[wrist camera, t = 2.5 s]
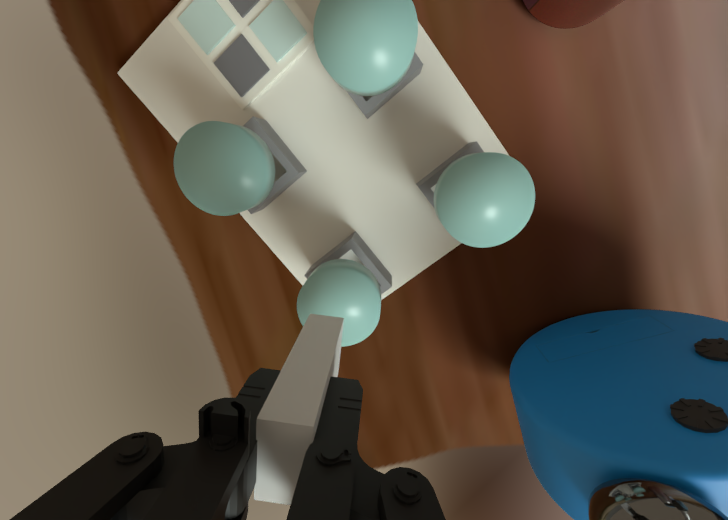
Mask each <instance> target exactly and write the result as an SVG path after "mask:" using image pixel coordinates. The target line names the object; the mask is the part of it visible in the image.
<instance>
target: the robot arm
mask: <svg viewBox="0 0 728 520" xmlns="http://www.w3.org/2000/svg"><path fill="white" fill-rule="evenodd" d="M343 323H344V318H341V317H333V316H325V315H317V314H310V315H309V317H308V318H307V320H306V322H305V324H304V326H303V328H302V330H301V332H300V334H299V336H298V338H297V340H296V342H295V344H294V346H293V348H292V350H291V352H290V354H289V356H288V358H287V360H286V362H285V364H284V366H283V368H282V370H281V371H280V370H272V369H265V368H260V369H259V370H257V371H256V372H254V373H253V374H252V375H250V376H249V378H248V379H247V381H246V383H245V384H244V387H242V389H241V390H240V392H239V394H238V395H237V397H236V398H222V399H218V400H214V401H212V402H210V403H208V404H206V405H204V406H203V407H202V408H201V409H200V410H199V438H198V439H197V441H194V442H192V443H186V444H179V445H171V446H163V442H162V439H161V437H159V436H158V435H156V434H155V433H149V432H140V433H133V434H130V435H127V436H124V437H122V438H120V439H119V440H117V441H115V442H114V443H112V444H110V445H109V446H108V447H106V448H105V449H104V450H102V451H101V452H100V453H98V454H97V455H96V456H95V457H93V458H92V459H91V460H89V461H88V462H86V463H85V464H84V465H82V466H81V467H80V468H78V469H77V470H76V471H74V472H73V473H72V474H70V475H69V476H68V477H66V478H65V479H64V480H62V481H61V482H60V483H58V484H57V485H56V486H54V487H53V488H51V489H50V490H49V491H48V492H46V493H45V494H43V495H42V496H41V497H40V498H38V499H37V500H35V501H34V502H33V503H31V504H30V505H29V506H27V507H26V508H25V509H23V510H22V511H21V512H19V513H18V514H17V515H15V516H14V517H13V518H12V519H10V520H246V518H247V513H248V501H249V498H250V496H251V493H252V491H253V489H254V500H260V501H267V502H273V503H280V504H287V505H291V506H290V509H289V513H288V516H287V520H446V519H445V517H444V515H443V512H442V509H441V507H440V504H439V502H438V499H437V497H436V494H435V492H434V489H433V487H432V486H431V484H430V482H429V481H428V479H427V478H426V477H424V476H423V475H422V474H421V473H420V472H417V471H415V470H413V469H410V468H403V467H399V468H395V469H391V470H390V471H388V472H387V473H386V474H383V473H381V472H378V471H376V470H374V469H373V468H371V467H369V466H368V465H367V464H366V463H365V462H364V461H363V460H362V459H361V457H360V456H359V453H358V450H357V440H358V431H359V422H360V413H361V404H362V394H363V389H362V387H361V385H360V383H359V381H358V380H353V379H346V378H339V377H337V376H338V371H339V361H340V352H341V342H342V332H343Z"/></svg>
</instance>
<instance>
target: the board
mask: <svg viewBox="0 0 728 520" xmlns="http://www.w3.org/2000/svg"><path fill="white" fill-rule="evenodd" d="M320 1H321V0H181V1H180V2H179V3H178V4H177V5H176V6H175V8H174V9H173V10H172V11H171V12H170V13H169V14H168V16H167V17H166V18H165V19H164V20H163V21H162V22H161V24H160V25H159V26H158V27H157V28H156V29H155V30H154V32H153V33H152V34H151V35H150V36H149V37H148V38H147V40H146V41H145V42H144V43H143V44H142V45H141V46H140V48H139V49H138V50H137V51H136V52H135V53H134V54H133V56H132V57H131V58H130V59H129V60H128V61H127V62H126V64H125V65H124V66H123V67H122V68H121V69H120V70H119V71H118V73H117V74H118V75H119V76H120V77H121V78H122V79H123V80H124V82H125V83H126V84H127V85H128V86H129V87H130V88H131V90H132V91H133V92H134V93H135V94H136V95H137V97H138V98H139V99H140V100H141V101H142V102H143V103H144V105H145V106H146V107H147V108H148V109H149V110H150V111H151V113H152V114H153V115H154V116H155V117H156V118H157V119H158V121H159V122H160V123H161V124H162V125H163V126H164V127H165V129H166V130H167V131H168V132H169V133H170V134H171V135H172V137H173V138H174V139H175V140H176V141H177V142H179V140H180V139H181V137H182V136H183V135H184V133H185V132H186V131H187V130H189V129H190V128H191V127H193V126H194V125H197V124H199V123H202V122H206V121H220V122H226V123H231V124H236V125H240V126H243V127H246V128H248V129H250V130H252V131H253V132H255V133H256V134H257V135H259V136H260V137H261V138H262V139H263V140H264V142H265V143H266V144H267V146H268V147H269V149H270V151H271V154H272V156H273V159H274V163H275V180H274V184H273V187H272V190H271V191H270V193H269V195H268V196H267V198H266V199H265V200H264V201H263V202H261V203H260V204H259V205H257V206H255V207H253V208H251V209H248V210H245V211H243V212H240V214H241V216H242V217H243V218H244V219H245V220H246V221H247V222H248V224H249V225H250V226H251V227H252V228H253V229H254V230H255V232H256V233H257V234H258V235H259V236H260V237H261V238H262V240H263V241H264V242H265V243H266V244H267V245H268V246H269V248H270V249H271V250H272V251H273V252H274V253H275V254H276V256H277V257H278V258H279V259H280V260H281V261H282V262H283V264H284V265H285V266H286V267H287V268H288V269H289V270H290V272H291V273H292V274H293V275H294V276H295V277H296V278H297V280H298V281H299V282H300V283H301V284H302V285H304V283H305V282H306V280H307V279H308V277H309V276H310V275H311V273H312V272H313V271H314V270H315V269H316V268H317V267H318V266H320V265H321V264H323V263H325V262H327V261H330V260H335V259H348V260H353V261H356V262H358V263H360V264H362V265H364V266H365V267H366V268H368V269H369V270H370V271H371V272H372V273H373V274H374V276H375V277H376V279H377V281H378V283H379V286H380V289H381V300H382V299H383V298H385V297H386V296H388V295H389V294H391V293H392V292H393V291H395V290H396V289H398V288H399V287H400V286H402V285H403V284H405V283H406V282H407V281H409V280H410V279H412V278H413V277H415V276H416V275H417V274H419V273H420V272H422V271H423V270H424V269H426V268H427V267H429V266H430V265H432V264H433V263H434V262H436V261H437V260H439V259H440V258H441V257H443V256H444V255H446V254H447V253H448V252H450V251H451V250H453V249H454V248H456V247H457V246H458V245H460V244H461V242H459V241H458V240H456V239H455V238H454V237H452V236H451V235H450V234H449V233H448V231H447V230H446V229H445V228H444V226H443V225H442V224H441V222H440V220H439V219H438V217H437V215H436V212H435V208H434V191H435V187H436V184H437V181H438V179H439V177H440V176H441V174H442V173H443V171H444V170H445V169H446V168H447V167H448V166H449V165H450V164H451V163H452V162H454V161H455V160H457V159H459V158H460V157H462V156H465V155H468V154H472V153H482V152H496V153H502V154H505V155H508V153H507V152H506V150H505V149H504V147H503V146H502V144H501V143H500V141H499V140H498V138H497V137H496V135H495V134H494V132H493V131H492V129H491V128H490V127H489V125H488V124H487V122H486V121H485V119H484V118H483V116H482V115H481V113H480V112H479V110H478V109H477V107H476V106H475V104H474V103H473V101H472V100H471V99H470V97H469V96H468V94H467V93H466V91H465V90H464V88H463V87H462V85H461V84H460V82H459V81H458V79H457V78H456V76H455V75H454V73H453V72H452V71H451V69H450V68H449V66H448V65H447V63H446V62H445V60H444V59H443V57H442V56H441V54H440V53H439V51H438V50H437V48H436V47H435V45H434V44H433V43H432V41H431V40H430V38H429V37H428V35H427V34H426V32H425V31H424V29H423V28H422V26H421V25H420V23H419V22H418V37H417V42H416V47H415V52H414V56H413V59H412V62H411V65H410V67H409V69H408V71H407V73H406V74H405V76H404V77H403V78H402V80H401V81H400V82H399V83H398V84H397V85H396V86H394V87H393V88H392V89H390V90H388V91H386V92H384V93H382V94H379V95H375V96H360V95H356V94H353V93H350V92H348V91H346V90H345V89H343V88H342V87H340V86H339V85H338V84H337V83H336V82H335V81H334V80H333V78H332V77H331V76H330V74H329V73H328V72H327V70H326V69H325V68H324V66H323V65H322V63H321V61H320V59H319V57H318V54H317V51H316V48H315V43H314V35H313V26H314V19H315V14H316V11H317V8H318V5H319V3H320ZM508 156H509V155H508Z"/></svg>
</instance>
